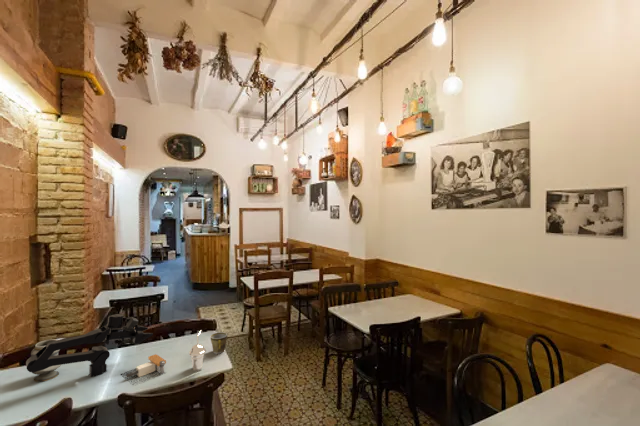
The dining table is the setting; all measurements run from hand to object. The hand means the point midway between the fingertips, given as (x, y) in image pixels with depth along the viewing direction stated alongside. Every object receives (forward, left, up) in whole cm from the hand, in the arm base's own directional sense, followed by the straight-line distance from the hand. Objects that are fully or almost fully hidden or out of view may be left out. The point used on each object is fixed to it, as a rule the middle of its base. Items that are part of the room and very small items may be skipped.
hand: (150, 331), depth 178 cm
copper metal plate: (-4, -18, -11) cm, 21 cm away
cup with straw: (+11, -33, -16) cm, 39 cm away
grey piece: (-10, -16, -16) cm, 25 cm away
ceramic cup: (+30, -24, -16) cm, 42 cm away
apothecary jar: (-42, +22, -16) cm, 50 cm away
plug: (-11, -16, -15) cm, 25 cm away
